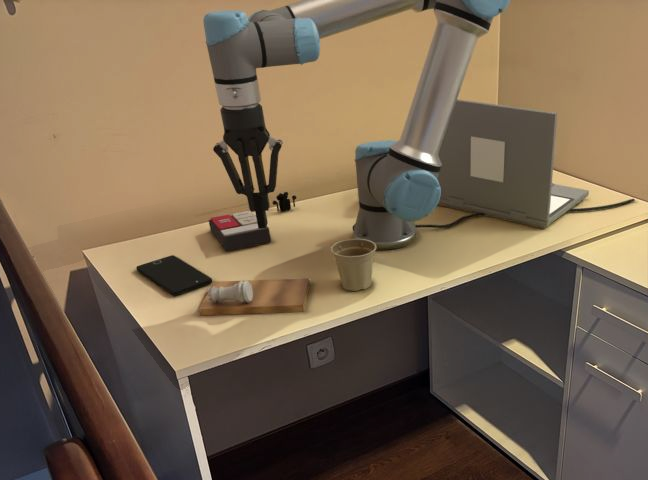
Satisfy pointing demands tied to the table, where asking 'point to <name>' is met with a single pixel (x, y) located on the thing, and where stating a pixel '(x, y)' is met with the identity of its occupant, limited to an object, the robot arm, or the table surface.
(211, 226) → the calculator
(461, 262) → the table surface
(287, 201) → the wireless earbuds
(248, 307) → the board
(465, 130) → the laptop
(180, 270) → the cell phone
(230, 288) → the rook chess piece
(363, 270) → the flower pot
